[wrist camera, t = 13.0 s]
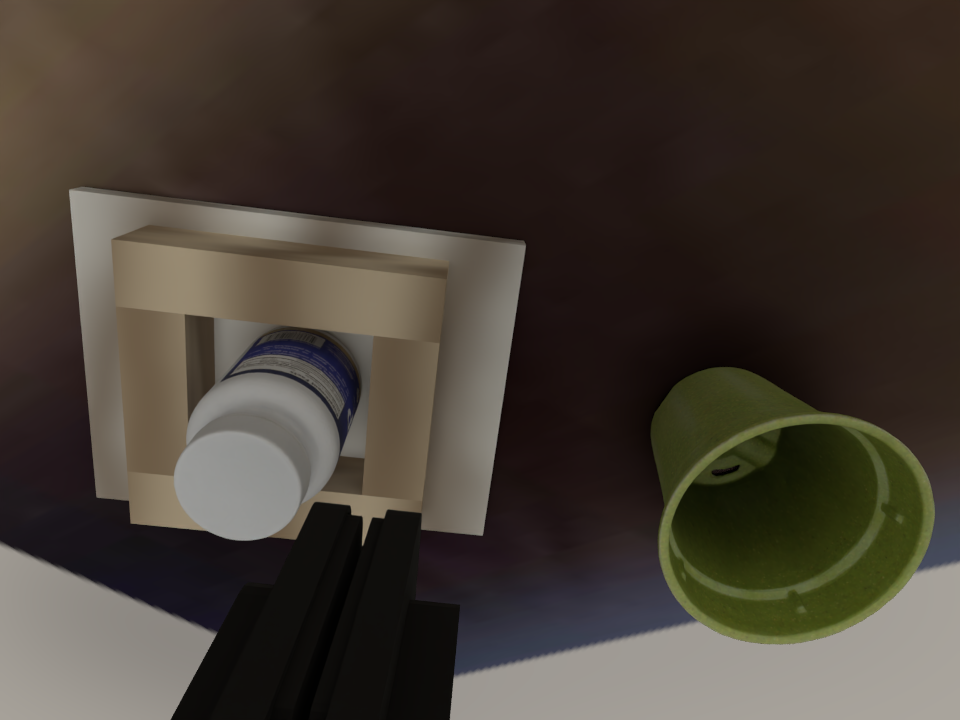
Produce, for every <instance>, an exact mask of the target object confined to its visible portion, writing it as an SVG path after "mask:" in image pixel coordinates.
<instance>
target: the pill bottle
mask: <svg viewBox="0 0 960 720" xmlns="http://www.w3.org/2000/svg"><path fill="white" fill-rule="evenodd" d="M361 389H362V385H361V376H360V372H359V368H358V366H357V363H356V361H355V359H354V358H353V356H352V354H351V353H350V352H349V350H348V349H347V348H346V347H345V346H344V345H343V344H342V343H341V342H340V341H339V340H337V339H336V338H335V337H333V336H332V335H330V334H328V333H326V332H324V331H322V330H319V329H310V328H301V327H293V326H283V327H279V328H275V329H273V330H271V331H268V332H266V333H265V334H263V335H261V336H260V337H258V338H257V339H256V340H255V341H254V342H253V343H252V344H251V345H250V346H249V347H248V348H247V349H246V350H245V351H244V353H243V354H242V355H241V356H240V357H239V358H238V360H237V361H236V362H235V363H234V364H233V365H232V366H231V367H230V369H229V370H228V371H227V372H226V373H225V374H224V375H223V376H222V377H221V378H220V379H219V381H218V382H217V383H216V384H215V385H214V386H213V387H212V388H211V389H210V390H209V391H208V392H207V393H206V394H205V395H204V397H203V398H202V399H201V400H200V401H199V403H198V404H197V406H196V407H195V409H194V411H193V413H192V414H191V417H190V420H189V423H188V427H187V434H186V445H187V446H186V448H185V449H184V450H183V452H182V453H181V455H180V457H179V459H178V461H177V464H176V467H175V471H174V487H175V492H176V495H177V498H178V500H179V503H180V505H181V506H182V508H183V509H184V511H185V512H186V513H187V515H188V516H189V517H190V518H191V519H192V520H193V521H194V522H196V523H197V524H198V525H199V526H201V527H202V528H203V529H205V530H207V531H209V532H211V533H213V534H215V535H218V536H221V537H224V538H227V539H233V540H257V539H261V538H265V537H268V536H271V535H273V534H275V533H277V532H278V531H280V530H281V529H283V528H284V527H285V526H286V525H287V524H288V523H289V522H290V521H291V520H292V519H293V518H294V516H295V515H296V513H297V511H298V509H299V507H300V505H301V504H302V503H304V502H306V501H308V500H309V499H311V498H312V497H314V496H315V495H316V494H317V493H319V492H320V491H321V490H322V488H323V487H324V486H325V485H326V484H327V482H328V481H329V479H330V477H331V476H332V474H333V472H334V470H335V467H336V465H337V462H338V460H339V457H340V454H341V451H342V448H343V446H344V443H345V440H346V437H347V435H348V432H349V429H350V426H351V424H352V421H353V418H354V415H355V413H356V410H357V407H358V404H359V401H360V397H361Z"/></svg>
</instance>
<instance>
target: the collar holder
mask: <svg viewBox="0 0 960 720" xmlns="http://www.w3.org/2000/svg"><path fill="white" fill-rule="evenodd" d="M69 194H70V206H71V217H72V228H73V239H74V250H75V261H76V272H77V284H78V295H79V306H80V317H81V328H82V339H83V351H84V362H85V373H86V384H87V395H88V406H89V417H90V429H91V440H92V451H93V462H94V473H95V484H96V496H97V497H98V498H109V499H119V500H129V504H130V518H131V523H133V524H143V525H153V526H163V527H174V528H184V529H194V530H205V529H203V528H202V527H201V526H199V525H198V524H197V523H196V522H194V521H193V520H192V519H191V518H190V517H189V516H188V515H187V513H186V512H185V511H184V509H183V508H182V506H181V505H180V503H179V500H178V498H177V495H176V492H175V487H174V471H175V467H176V464H177V461H178V459H179V457H180V455H181V453H182V452H183V450H184V449H185V448H186V446H187V445H186V434H187V427H188V423H189V420H190V417H191V414H192V413H193V411H194V409H195V407H196V406H197V404H198V403H199V401H200V400H201V399H202V398H203V397H204V395H205V394H206V393H207V392H208V391H209V390H210V389H211V388H212V387H213V386H214V385H215V384H216V383H217V382H218V381H219V379H220V378H221V377H222V376H223V375H224V374H225V373H226V372H227V371H228V370H229V369H230V367H231V366H232V365H233V364H234V363H235V362H236V361H237V360H238V358H239V357H240V356H241V355H242V354H243V353H244V351H245V350H246V349H247V348H248V347H249V346H250V345H251V344H252V343H253V342H254V341H255V340H256V339H257V338H258V337H260V336H261V335H263V334H265V333H266V332H268V331H271V330H273V329H275V328H279V327H283V326H293V327H301V328H310V329H319V330H322V331H324V332H326V333H328V334H330V335H332V336H333V337H335V338H336V339H337V340H339V341H340V342H341V343H342V344H343V345H344V346H345V347H346V348H347V349H348V350H349V352H350V353H351V354H352V356H353V358H354V359H355V361H356V363H357V366H358V368H359V372H360V376H361V385H362V389H361V397H360V401H359V404H358V407H357V410H356V413H355V415H354V418H353V421H352V424H351V426H350V429H349V432H348V435H347V437H346V440H345V443H344V446H343V448H342V451H341V454H340V457H339V460H338V462H337V465H336V467H335V470H334V472H333V474H332V476H331V477H330V479H329V481H328V482H327V484H326V485H325V486H324V487H323V488H322V490H321V491H320V492H319V493H317V494H316V495H315V496H314V497H312V498H311V499H309V500H308V501H306V502H304V503H302V504H301V505H300V507H299V509H298V511H297V513H296V515H295V516H294V518H293V519H292V520H291V521H290V522H289V523H288V524H287V525H286V526H285V527H284V528H283V529H281V530H280V531H278V532H277V533H275V534H273V535H271V536H268V537H276V538H287V539H296V538H297V536H298V534H299V532H300V530H301V528H302V526H303V524H304V522H305V519H306V517H307V515H308V513H309V511H310V509H311V507H312V505H313V503H314V502H325V503H334V504H343V505H350V506H351V515H357V516H362V517H363V534H362V546H363V544H364V541H365V538H366V535H367V532H368V529H369V525H370V522H371V520H372V518H373V517H376V518H385V514H386V511H387V510H388V509H390V510H399V511H408V512H418V513H422V523H421V530H431V531H442V532H452V533H462V534H472V535H482V536H483V530H484V523H485V517H486V510H487V503H488V497H489V490H490V483H491V477H492V470H493V463H494V456H495V450H496V443H497V436H498V430H499V423H500V416H501V410H502V403H503V396H504V389H505V383H506V376H507V369H508V363H509V356H510V349H511V343H512V336H513V329H514V322H515V316H516V309H517V302H518V296H519V289H520V282H521V276H522V269H523V262H524V255H525V249H526V244H525V242H524V241H521V240H513V239H505V238H497V237H489V236H480V235H472V234H464V233H456V232H448V231H440V230H432V229H423V228H415V227H407V226H399V225H391V224H383V223H374V222H366V221H358V220H350V219H342V218H334V217H325V216H317V215H309V214H301V213H293V212H285V211H277V210H268V209H260V208H252V207H244V206H236V205H228V204H219V203H211V202H203V201H195V200H187V199H179V198H170V197H162V196H154V195H146V194H138V193H130V192H122V191H113V190H105V189H97V188H89V187H80V188H75V189H70V190H69ZM205 531H207V530H205Z"/></svg>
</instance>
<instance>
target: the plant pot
mask: <svg viewBox="0 0 960 720" xmlns="http://www.w3.org/2000/svg"><path fill="white" fill-rule="evenodd" d="M651 443H652V448H653V453H654V458H655V462H656V467H657V471H658V475H659V480H660V484H661V489H662V494H663V499H664V504H665V507H664V509H663V512H662V516H661V520H660V524H659V531H658V555H659V559H660V564H661V568H662V571H663V574H664V577H665V580H666V582H667V584H668V586H669V588H670V590H671V592H672V593H673V595H674V597H675V598H676V599H677V601H678V602H679V603H680V604H681V605H682V606H683V608H684V609H685V610H686V611H687V612H688V613H689V614H690V615H692V616H693V617H694V618H695V619H696V620H698V621H699V622H701V623H702V624H704V625H705V626H707V627H709V628H711V629H712V630H714V631H716V632H718V633H720V634H722V635H725V636H728V637H731V638H734V639H738V640H742V641H746V642H753V643H760V644H795V643H802V642H806V641H812V640H815V639H820V638H824V637H827V636H830V635H833V634H836V633H839V632H841V631H843V630H845V629H847V628H849V627H851V626H853V625H855V624H857V623H859V622H861V621H863V620H864V619H866V618H867V617H869V616H870V615H872V614H874V613H875V612H877V611H878V610H879V609H880V608H882V607H883V606H884V605H885V604H886V603H887V602H888V601H890V600H891V599H892V598H894V597H895V596H896V594H897V593H899V591H900V590H901V589H902V588H903V587H904V586H905V585H906V584H907V582H908V581H909V580H910V579H911V577H912V576H913V574H914V573H915V571H916V569H917V568H918V566H919V565H920V563H921V561H922V559H923V557H924V555H925V553H926V551H927V548H928V545H929V542H930V539H931V535H932V530H933V525H934V517H935V508H934V500H933V495H932V489H931V485H930V482H929V479H928V477H927V474H926V473H925V471H924V469H923V467H922V466H921V464H920V463H919V461H918V460H917V458H916V457H915V456H914V455H913V453H912V452H911V451H910V450H909V449H908V448H907V447H906V446H905V445H904V444H903V443H902V442H901V441H900V440H898V439H896V438H895V437H894V436H892V435H891V434H889V433H888V432H886V431H885V430H883V429H881V428H879V427H877V426H875V425H873V424H872V423H869V422H866V421H864V420H861V419H858V418H855V417H851V416H847V415H842V414H836V413H827V412H820V411H818V410H816V409H814V408H813V407H811V406H809V405H807V404H806V403H804V402H802V401H801V400H799V399H797V398H795V397H794V396H792V395H790V394H789V393H787V392H785V391H784V390H782V389H780V388H779V387H777V386H775V385H774V384H772V383H771V382H769V381H767V380H766V379H764V378H762V377H760V376H759V375H757V374H754V373H752V372H749V371H747V370H744V369H740V368H734V367H717V368H709V369H706V370H702V371H699V372H697V373H694V374H692V375H690V376H688V377H686V378H684V379H683V380H681V381H680V382H678V383H677V384H676V385H675V386H674V387H673V388H672V389H671V391H670V392H669V394H668V395H667V396H666V398H665V399H664V401H663V402H662V403H661V405H660V406H659V408H658V409H657V410H656V412H655V414H654V416H653V420H652V424H651ZM736 465H740V467H739V468H738V469H737V470H736V471H733V472H731V473H728V474H724V475H718V476H715V475H713V474H712V473H711V472H712V471H713V470H716V469H727V468H730V467H731V468H732V467H733V466H736Z"/></svg>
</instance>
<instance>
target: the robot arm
mask: <svg viewBox="0 0 960 720" xmlns="http://www.w3.org/2000/svg"><path fill="white" fill-rule="evenodd" d="M421 523H422V513H418V512H408V511H399V510H390V509H388V510H387V511H386V514H385V518H376V517H373V518H372V520H371V522H370V525H369V529H368V532H367V535H366V538H365V541H364V544H363V547H362V534H363V517H362V516H357V515H351V506H350V505H343V504H334V503H325V502H314V503H313V505H312V507H311V509H310V511H309V513H308V515H307V517H306V519H305V522H304V524H303V526H302V528H301V530H300V532H299V534H298V536H297V538H296V540H295V542H294V545H293V547H292V549H291V551H290V553H289V555H288V557H287V559H286V561H285V563H284V565H283V568H282V570H281V572H280V574H279V576H278V578H277V580H276V582H275V584H274V585H269V584H259V583H250V582H249V583H247V584H246V585H244V587H243V588H242V590H241V591H240V593H239V594H238V596H237V598H236V600H235V602H234V604H233V605H232V607H231V609H230V611H229V613H228V615H227V616H226V618H225V620H224V622H223V624H222V626H221V628H220V629H219V631H218V633H217V635H216V637H215V639H214V641H213V642H212V644H211V646H210V648H209V650H208V652H207V653H206V655H205V657H204V659H203V661H202V663H201V665H200V666H199V668H198V670H197V672H196V674H195V676H194V677H193V680H192V681H191V683H190V685H189V687H188V689H187V690H186V692H185V694H184V696H183V698H182V700H181V701H180V704H179V705H178V707H177V709H176V711H175V713H174V714H173V716H172V718H171V720H450V710H451V698H452V688H453V677H454V666H455V655H456V644H457V633H458V622H459V611H460V605H456V604H446V603H437V602H428V601H418V600H415V595H416V583H417V571H418V559H419V547H420V535H421Z"/></svg>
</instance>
